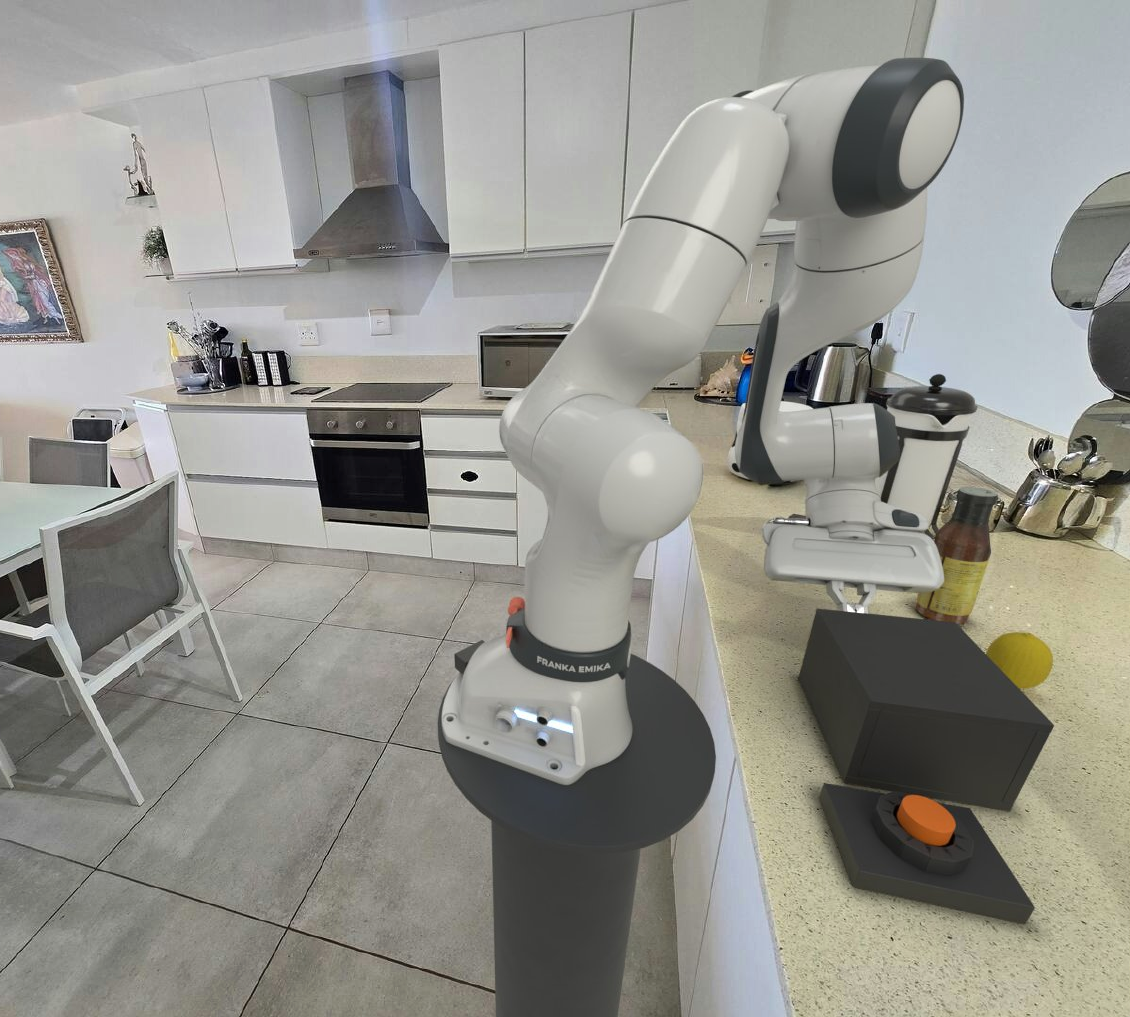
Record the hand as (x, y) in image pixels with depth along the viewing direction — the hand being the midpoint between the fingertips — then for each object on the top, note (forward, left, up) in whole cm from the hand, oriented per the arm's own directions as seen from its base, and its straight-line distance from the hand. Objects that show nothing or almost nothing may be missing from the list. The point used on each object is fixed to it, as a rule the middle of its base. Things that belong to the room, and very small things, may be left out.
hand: (853, 618), depth 72 cm
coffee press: (+24, +48, -6) cm, 54 cm away
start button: (-4, -30, -2) cm, 30 cm away
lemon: (+17, -3, -6) cm, 18 cm away
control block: (-4, -30, -6) cm, 30 cm away
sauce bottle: (+17, +13, -6) cm, 22 cm away
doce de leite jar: (+6, +72, -6) cm, 73 cm away
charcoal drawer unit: (0, -15, -6) cm, 16 cm away
